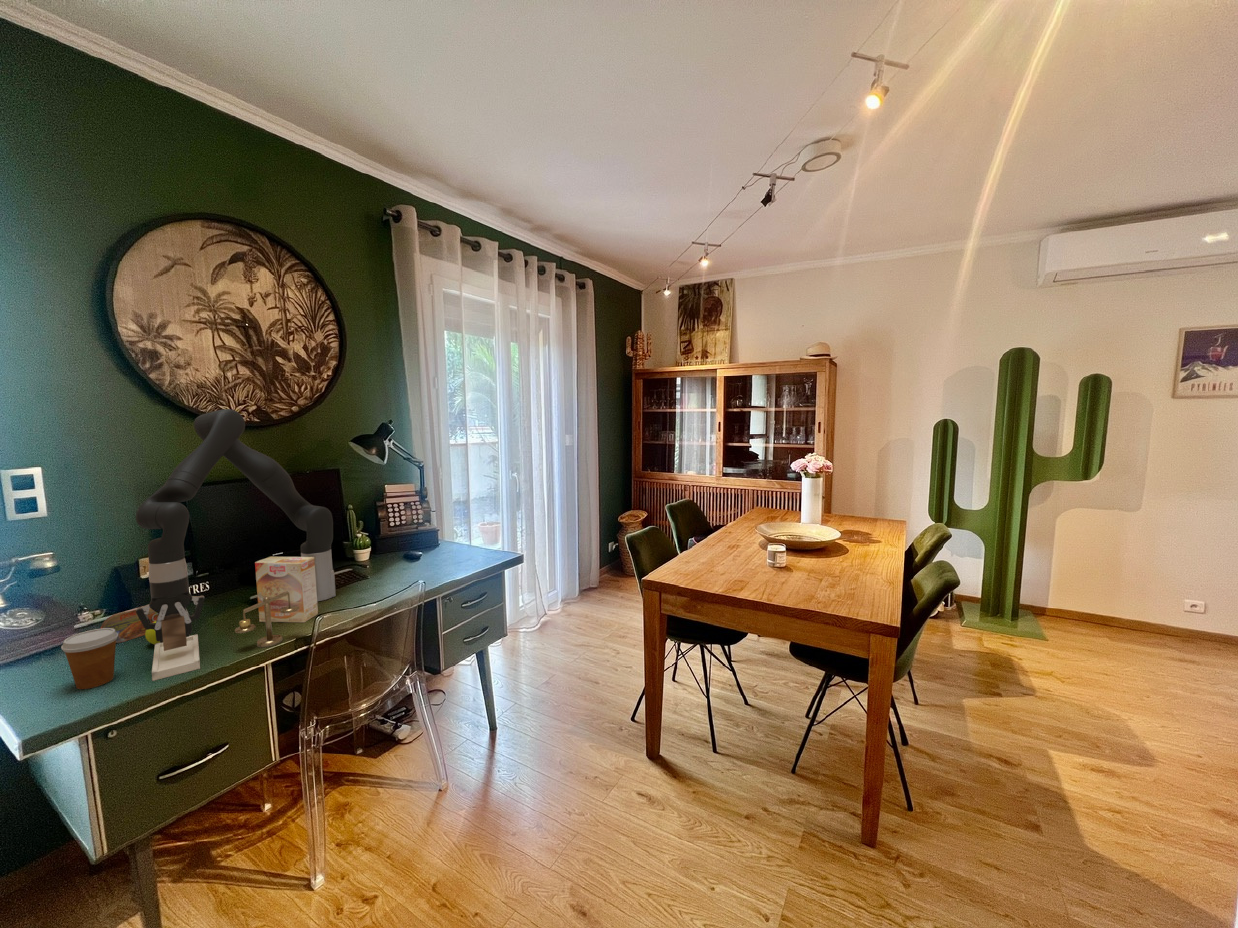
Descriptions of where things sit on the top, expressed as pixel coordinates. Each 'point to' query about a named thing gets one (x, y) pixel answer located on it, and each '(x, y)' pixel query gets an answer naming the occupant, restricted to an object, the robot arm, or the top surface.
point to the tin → (128, 624)
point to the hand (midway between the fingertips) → (174, 638)
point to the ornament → (151, 636)
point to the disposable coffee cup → (91, 657)
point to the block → (173, 632)
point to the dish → (175, 659)
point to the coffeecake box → (287, 587)
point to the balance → (266, 621)
